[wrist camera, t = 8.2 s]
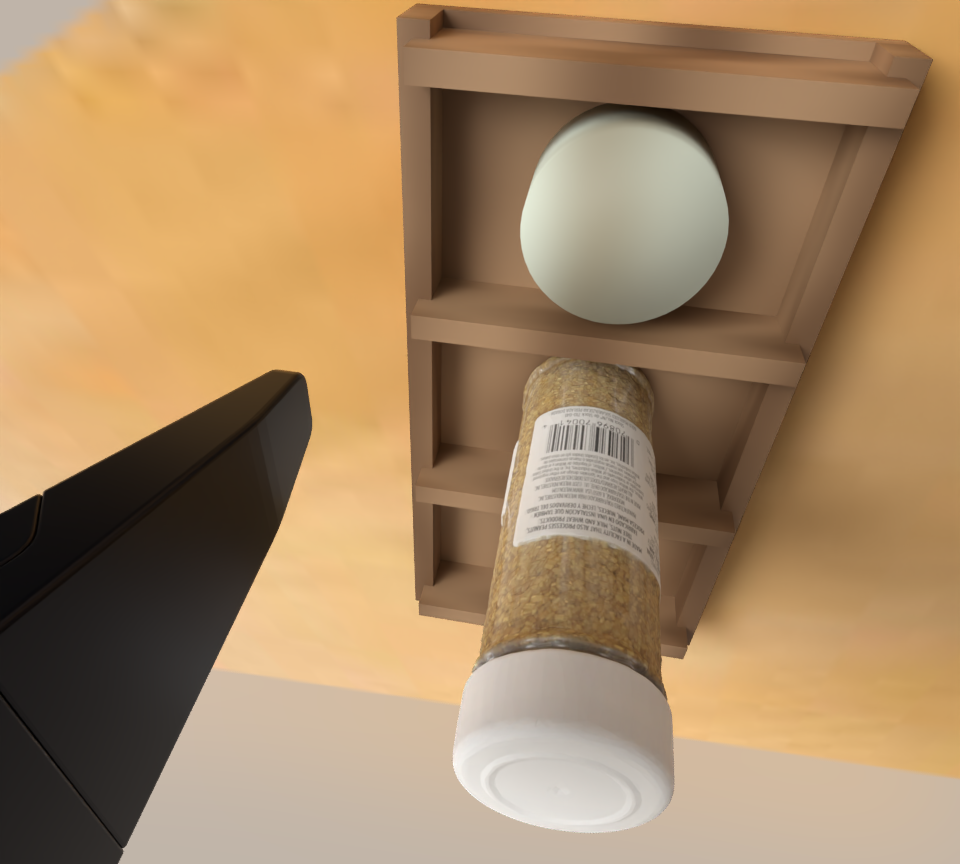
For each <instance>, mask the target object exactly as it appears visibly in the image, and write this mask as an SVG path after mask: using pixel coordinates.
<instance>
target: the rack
mask: <svg viewBox="0 0 960 864" xmlns="http://www.w3.org/2000/svg"><path fill="white" fill-rule="evenodd" d="M397 45H398V75H399V106H400V136H401V166H402V197H403V227H404V258H405V288H406V318H407V349H408V379H409V410H410V440H411V471H412V501H413V531H414V562H415V592H416V600H418V601H419V615H423V616H429V617H435V618H441V619H447V620H453V621H459V622H465V623H471V624H477V625H483V626H484V623H485V619H486V613H487V609H488V601H489V594H490V588H491V582H492V578H493V572H494V566H495V560H496V555H497V549H498V544H499V537H500V533H501V528H502V524H501V515H502V509H503V504H504V499H505V493H506V488H507V482H508V477H509V472H510V467H511V462H512V457H513V451H514V448H515V445H516V443H517V441H518V439H519V433H520V426H521V422H522V415H523V409H522V404H523V396H524V394H523V392H524V389H525V386H526V384H527V381H528V379H529V377H530V375H531V374H532V372H533V371H534V370H535V369H536V368H537V367H538V366H540V365H541V364H542V363H543V362H545V361H547V360H548V359H549V358H551V357H553V356H554V357H562V358H570V359H578V360H586V361H594V362H601V363H609V364H617V365H625V366H633V367H637V368H638V369H640V370H641V371H642V372H643V374H644V375H645V377H646V379H647V380H648V381H649V383H650V386H651V389H652V392H653V394H654V413H653V417H652V445H653V452H654V456H655V467H656V487H657V510H658V538H659V560H660V584H661V599H660V605H659V608H660V613H659V617H660V642H661V656H667V657H673V658H679V659H683V658H684V656H685V653H686V651H687V645H689V644H690V642H691V640H692V637H693V635H694V632H695V630H696V628H697V625H698V623H699V620H700V618H701V616H702V613H703V611H704V608H705V606H706V604H707V601H708V599H709V596H710V594H711V592H712V589H713V587H714V584H715V582H716V579H717V577H718V575H719V572H720V570H721V567H722V565H723V563H724V560H725V558H726V555H727V553H728V551H729V548H730V546H731V543H732V541H733V539H734V536H735V534H736V531H737V529H738V527H739V524H740V522H741V519H742V517H743V515H744V512H745V510H746V507H747V505H748V503H749V500H750V498H751V495H752V493H753V491H754V488H755V486H756V483H757V481H758V479H759V476H760V474H761V471H762V469H763V467H764V464H765V462H766V459H767V457H768V455H769V452H770V450H771V447H772V445H773V443H774V440H775V438H776V435H777V433H778V431H779V428H780V426H781V423H782V421H783V419H784V416H785V414H786V411H787V409H788V407H789V404H790V402H791V399H792V397H793V395H794V392H795V390H796V387H797V385H798V383H799V380H800V378H801V375H802V373H803V371H804V368H805V366H806V363H807V361H808V359H809V356H810V354H811V351H812V349H813V347H814V344H815V342H816V339H817V337H818V335H819V332H820V330H821V327H822V325H823V323H824V320H825V318H826V315H827V313H828V311H829V308H830V306H831V303H832V301H833V299H834V296H835V294H836V291H837V289H838V287H839V284H840V282H841V279H842V277H843V275H844V272H845V270H846V267H847V265H848V263H849V260H850V258H851V255H852V253H853V251H854V248H855V246H856V243H857V241H858V239H859V236H860V234H861V231H862V229H863V227H864V224H865V222H866V219H867V217H868V215H869V212H870V210H871V207H872V205H873V202H874V200H875V198H876V195H877V193H878V190H879V188H880V186H881V183H882V181H883V178H884V176H885V174H886V171H887V169H888V166H889V164H890V162H891V159H892V157H893V154H894V152H895V150H896V147H897V145H898V142H899V140H900V138H901V135H902V133H903V130H904V128H905V126H906V123H907V121H908V118H909V116H910V114H911V111H912V109H913V106H914V104H915V102H916V99H917V97H918V94H919V92H920V90H921V87H922V85H923V82H924V80H925V78H926V75H927V73H928V70H929V68H930V66H931V63H932V61H933V59H932V58H930V57H929V56H927V55H926V54H924V53H923V52H921V51H920V50H918V49H917V48H915V47H914V46H912V45H911V44H909V43H908V42H906V41H900V40H887V39H874V38H861V37H848V36H835V35H821V34H808V33H795V32H782V31H769V30H756V29H743V28H730V27H717V26H703V25H690V24H677V23H664V22H651V21H638V20H625V19H612V18H598V17H585V16H572V15H559V14H546V13H533V12H520V11H507V10H494V9H480V8H467V7H454V6H441V5H428V4H415V5H414V6H412V7H411V8H410V9H408V10H407V11H405V12H404V13H402V14H401V15H399V16H398V17H397Z"/></svg>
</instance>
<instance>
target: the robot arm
mask: <svg viewBox="0 0 960 864" xmlns="http://www.w3.org/2000/svg"><path fill="white" fill-rule="evenodd" d="M311 431H312V416H311V409H310V402H309V396H308V389H307V383H306V380H305V377H304V376H303V375H302V374H301V373H299V372H292V371H285V370H272V371H269V372H267V373H265V374H264V375H262V376H260V377H258V378H256V379H254V380H252V381H250V382H248V383H247V384H245V385H243V386H241V387H239V388H237V389H235V390H233V391H232V392H230V393H228V394H226V395H224V396H222V397H220V398H218V399H216V400H215V401H213V402H211V403H209V404H207V405H205V406H203V407H201V408H199V409H198V410H196V411H194V412H192V413H190V414H188V415H186V416H184V417H182V418H181V419H179V420H177V421H175V422H173V423H171V424H169V425H167V426H166V427H164V428H162V429H160V430H158V431H156V432H154V433H152V434H150V435H149V436H147V437H145V438H143V439H141V440H139V441H137V442H135V443H133V444H132V445H130V446H128V447H126V448H124V449H122V450H120V451H118V452H116V453H115V454H113V455H111V456H109V457H107V458H105V459H103V460H101V461H99V462H98V463H96V464H94V465H92V466H90V467H88V468H86V469H84V470H82V471H81V472H79V473H77V474H75V475H73V476H71V477H69V478H67V479H65V480H64V481H62V482H60V483H58V484H56V485H54V486H52V487H50V488H48V489H47V490H45V491H44V492H43V496H42V495H40V494H37V495H35V496H33V497H31V498H29V499H28V500H26V501H24V502H22V503H20V504H18V505H16V506H14V507H12V508H11V509H9V510H7V511H5V512H3V513H1V514H0V864H118V863H119V860H120V858H121V856H122V854H123V849H122V848H124V847H125V846H126V845H127V843H128V841H129V839H130V837H131V835H132V833H133V830H134V828H135V826H136V824H137V822H138V820H139V818H140V816H141V813H142V812H143V810H144V808H145V806H146V804H147V801H148V799H149V797H150V795H151V793H152V791H153V789H154V787H155V785H156V783H157V781H158V779H159V777H160V775H161V772H162V770H163V768H164V766H165V764H166V762H167V760H168V758H169V756H170V754H171V751H172V750H173V748H174V745H175V743H176V741H177V739H178V737H179V735H180V733H181V731H182V729H183V727H184V725H185V723H186V720H187V718H188V716H189V714H190V712H191V710H192V708H193V706H194V704H195V702H196V700H197V698H198V696H199V694H200V691H201V689H202V687H203V685H204V683H205V681H206V679H207V677H208V675H209V673H210V671H211V669H212V667H213V665H214V662H215V660H216V658H217V656H218V654H219V652H220V650H221V648H222V646H223V644H224V642H225V640H226V638H227V635H228V633H229V631H230V629H231V627H232V625H233V623H234V621H235V619H236V617H237V615H238V613H239V611H240V608H241V606H242V604H243V602H244V600H245V598H246V596H247V594H248V592H249V590H250V588H251V586H252V584H253V582H254V579H255V577H256V575H257V573H258V571H259V569H260V567H261V565H262V563H263V561H264V559H265V557H266V555H267V552H268V550H269V548H270V546H271V544H272V542H273V540H274V538H275V535H276V533H277V531H278V529H279V526H280V524H281V521H282V518H283V516H284V513H285V510H286V507H287V504H288V501H289V498H290V495H291V492H292V489H293V486H294V483H295V480H296V477H297V475H298V472H299V469H300V466H301V463H302V460H303V457H304V454H305V451H306V448H307V445H308V442H309V439H310V436H311Z"/></svg>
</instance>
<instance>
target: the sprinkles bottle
mask: <svg viewBox="0 0 960 864" xmlns="http://www.w3.org/2000/svg"><path fill="white" fill-rule="evenodd" d="M523 394H524V396H523V404H522V409H523V415H522V422H521V426H520V433H519V439H518V441H517V443H516V445H515V448H514V451H513V457H512V462H511V467H510V472H509V477H508V482H507V488H506V493H505V499H504V504H503V509H502V515H501V524H502V528H501V533H500V537H499V544H498V549H497V555H496V560H495V566H494V572H493V578H492V582H491V588H490V594H489V601H488V609H487V613H486V619H485V623H484V628H483V636H482V641H481V648H480V656H479V657H478V658H477V660H476V663H475V665H474V667H473V670H472V675H471V676H470V678H469V679H468V680H467V682H466V684H465V687H464V690H463V695H462V701H461V706H460V712H459V717H458V723H457V730H456V736H455V742H454V749H453V767H454V770H455V773H456V776H457V778H458V780H459V781H460V783H461V784H462V785H463V787H464V788H465V789H466V790H467V791H468V792H469V793H470V794H471V795H472V796H473V797H474V798H476V799H477V800H478V801H480V802H481V803H482V804H484V805H486V806H488V807H489V808H491V809H492V810H494V811H496V812H499V813H501V814H503V815H505V816H507V817H510V818H512V819H515V820H518V821H521V822H524V823H527V824H531V825H535V826H539V827H543V828H548V829H554V830H561V831H568V832H580V833H601V832H614V831H621V830H626V829H629V828H633V827H637V826H640V825H642V824H644V823H647V822H649V821H651V820H653V819H654V818H656V817H657V816H658V815H660V814H661V813H662V812H663V811H664V810H665V809H666V807H667V806H668V804H669V803H670V801H671V798H672V796H673V791H674V756H673V727H672V714H671V710H670V707H669V704H668V702H667V696H666V692H665V689H664V685H663V683H662V676H661V662H662V658H661V642H660V617H659V613H660V608H659V605H660V599H661V584H660V560H659V538H658V510H657V487H656V467H655V456H654V452H653V445H652V417H653V413H654V394H653V392H652V389H651V386H650V383H649V381H648V380H647V379H646V377H645V375H644V374H643V372H642V371H641V370H640V369H638V368H637V367H633V366H625V365H617V364H609V363H601V362H594V361H586V360H578V359H570V358H562V357H554V356H553V357H551V358H549V359H548V360H547V361H545V362H543V363H542V364H541V365H540V366H538V367H537V368H536V369H535V370H534V371H533V372H532V374H531V375H530V377H529V379H528V381H527V384H526V386H525V389H524V392H523Z"/></svg>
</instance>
